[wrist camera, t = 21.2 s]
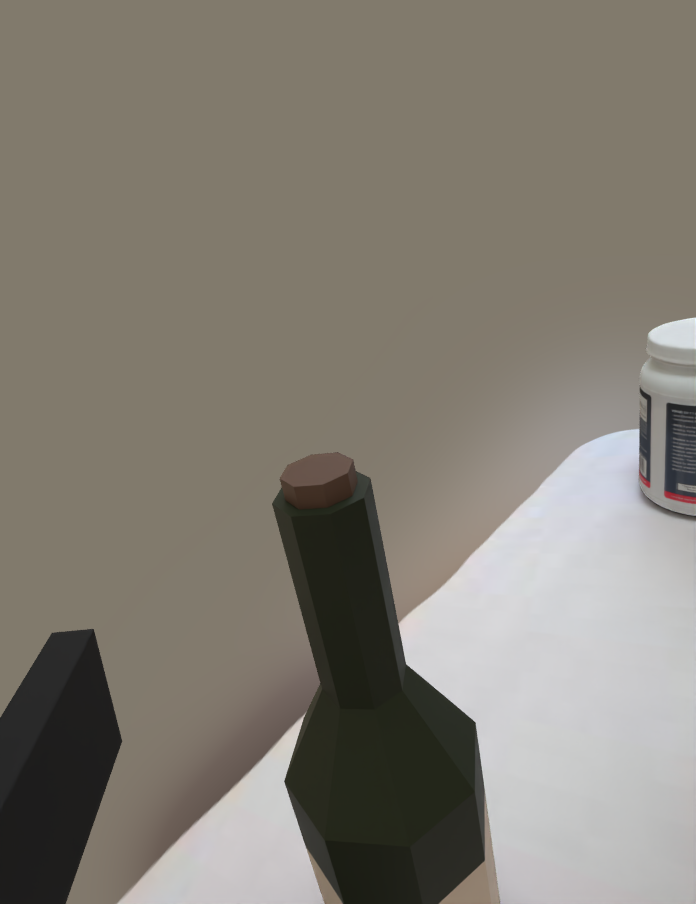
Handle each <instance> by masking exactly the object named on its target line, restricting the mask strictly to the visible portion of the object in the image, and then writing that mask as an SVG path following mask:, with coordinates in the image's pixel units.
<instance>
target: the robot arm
mask: <svg viewBox="0 0 696 904" xmlns="http://www.w3.org/2000/svg"><path fill="white" fill-rule="evenodd" d="M121 743H122V739H121V735H120V731H119V727H118V723H117V720H116V715H115V711H114V707H113V703H112V699H111V695H110V692H109V688H108V684H107V680H106V676H105V672H104V668H103V664H102V660H101V656H100V652H99V648H98V645H97V640H96V636H95V633H94V629H88V630H77V631H67V632H57V633H52V634H51V636H50V637H49V639H48V640H47V642H46V644H45V645H44V647H43V649H42V650H41V652H40V654H39V655H38V657H37V659H36V660H35V662H34V663H33V665H32V667H31V668H30V670H29V672H28V673H27V675H26V677H25V678H24V680H23V681H22V683H21V685H20V686H19V688H18V690H17V691H16V693H15V695H14V696H13V698H12V700H11V701H10V703H9V704H8V706H7V708H6V709H5V711H4V713H3V714H2V716H1V717H0V904H66V901H67V898H68V895H69V892H70V890H71V886H72V884H73V881H74V878H75V875H76V872H77V869H78V867H79V864H80V860H81V858H82V855H83V852H84V849H85V846H86V843H87V840H88V838H89V835H90V832H91V829H92V826H93V823H94V821H95V818H96V815H97V812H98V809H99V806H100V803H101V800H102V797H103V794H104V792H105V789H106V786H107V783H108V780H109V777H110V774H111V772H112V769H113V766H114V763H115V760H116V757H117V754H118V751H119V749H120V746H121Z"/></svg>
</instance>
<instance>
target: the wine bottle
mask: <svg viewBox="0 0 696 904" xmlns="http://www.w3.org/2000/svg"><path fill="white" fill-rule="evenodd" d="M280 481H281V485H282V488H281V490H280V491H279V493H278V495H277V496H276V498H275V500H274V501H273V503H272V505H273V508H274V512H275V516H276V519H277V523H278V527H279V531H280V535H281V538H282V542H283V545H284V549H285V553H286V556H287V560H288V564H289V568H290V572H291V575H292V579H293V583H294V586H295V590H296V594H297V598H298V601H299V605H300V609H301V612H302V616H303V620H304V623H305V627H306V631H307V634H308V638H309V642H310V646H311V649H312V653H313V657H314V661H315V664H316V668H317V672H318V675H319V679H320V682H321V683H320V686H319V688H318V690H317V692H316V694H315V696H314V698H313V700H312V702H311V704H310V706H309V709H308V711H307V713H306V715H305V717H304V720H303V723H302V726H301V729H300V733H299V736H298V739H297V742H296V745H295V749H294V752H293V755H292V758H291V762H290V765H289V768H288V771H287V775H286V778H285V781H284V782H285V785H286V788H287V791H288V794H289V797H290V800H291V803H292V806H293V809H294V812H295V815H296V818H297V821H298V824H299V827H300V830H301V833H302V836H303V839H304V842H305V845H306V848H307V851H308V854H309V858H310V861H311V864H312V867H313V870H314V873H315V876H316V879H317V882H318V885H319V888H320V891H321V894H322V897H323V900H324V903H325V904H500V899H499V891H498V884H497V877H496V869H495V862H494V855H493V847H492V840H491V833H490V826H489V818H488V811H487V804H486V796H485V789H484V782H483V774H482V767H481V760H480V753H479V745H478V738H477V731H476V723H475V722H474V721H473V720H472V719H471V718H470V717H468V716H467V715H466V714H465V713H464V712H462V711H461V710H460V709H459V708H458V707H457V706H455V705H454V704H453V703H452V702H451V701H449V700H448V699H447V698H446V697H445V696H443V695H442V694H441V693H440V692H439V691H438V690H436V689H435V688H434V687H433V686H432V685H430V684H429V683H428V682H427V681H426V680H424V679H423V678H422V677H421V676H420V675H418V674H417V673H416V672H415V671H414V670H412V669H411V668H410V667H409V666H407V665H406V662H405V657H404V652H403V646H402V641H401V636H400V631H399V625H398V620H397V615H396V610H395V604H394V599H393V594H392V589H391V584H390V578H389V573H388V568H387V563H386V557H385V552H384V548H383V541H382V537H381V531H380V526H379V521H378V515H377V510H376V505H375V500H374V495H373V489H372V484H371V479H370V478H369V477H367V476H365V475H363V474H361V473H358V472H357V471H355V466H354V461H353V459H351V458H348V457H346V456H345V455H342V454H340V453H338V452H337V453H325V454H315V455H310V456H307V457H305V458H303V459H301V460H298V461H296V462H294V463H291V464H289V465H288V466H287V467H286V469H285V470H284V472H283V474H282V475H281V477H280Z"/></svg>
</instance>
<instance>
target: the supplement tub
mask: <svg viewBox="0 0 696 904" xmlns="http://www.w3.org/2000/svg"><path fill="white" fill-rule="evenodd" d="M646 352H647V353H648V354H649V355H650V356H651V358H649V359H648V360H647V361H646V363H645V364H644V365H643V367H642V369H641V372H640V377H639V382H640V446H639V483H640V487H641V489H642V491H643V492H644V494H645V495H646V496H647V497H648V498H649V499H650V500H652V501H653V502H655V503H656V504H658V505H660V506H662V507H664V508H666V509H669V510H671V511H675V512H678V513H682V514H687V515H693V516H696V318H690V319H684V320H679V321H674V322H671V323H667V324H664V325H661V326H659V327H656V328H655V329H653V330H652V331H651V332H650V333H649V334H648V342H647V347H646Z"/></svg>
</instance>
